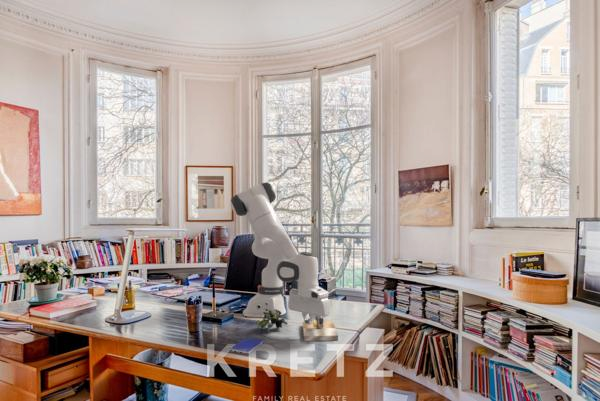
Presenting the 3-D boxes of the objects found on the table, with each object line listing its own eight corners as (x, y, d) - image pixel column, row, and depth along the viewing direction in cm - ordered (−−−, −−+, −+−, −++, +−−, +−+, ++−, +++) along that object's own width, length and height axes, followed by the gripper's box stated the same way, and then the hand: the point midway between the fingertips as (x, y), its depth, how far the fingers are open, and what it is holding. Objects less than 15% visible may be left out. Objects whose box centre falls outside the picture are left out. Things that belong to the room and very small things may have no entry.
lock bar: (315, 318, 167) (315, 311, 167) (322, 318, 167) (322, 310, 167) (317, 327, 154) (317, 319, 154) (325, 327, 154) (325, 319, 154)
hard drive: (248, 350, 142) (263, 340, 154) (229, 348, 145) (245, 337, 157) (248, 355, 142) (263, 344, 154) (229, 352, 145) (245, 341, 157)
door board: (304, 341, 155) (304, 327, 155) (302, 325, 176) (302, 313, 176) (338, 340, 156) (338, 327, 156) (332, 324, 177) (332, 313, 177)
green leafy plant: (277, 340, 172) (292, 319, 171) (265, 343, 162) (281, 321, 161) (261, 323, 177) (276, 303, 176) (248, 325, 167) (264, 304, 166)
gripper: (284, 288, 164) (285, 320, 164) (322, 295, 151) (323, 330, 151) (294, 286, 169) (294, 317, 169) (331, 292, 156) (332, 326, 156)
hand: (308, 323), depth 160 cm, fingers closed
